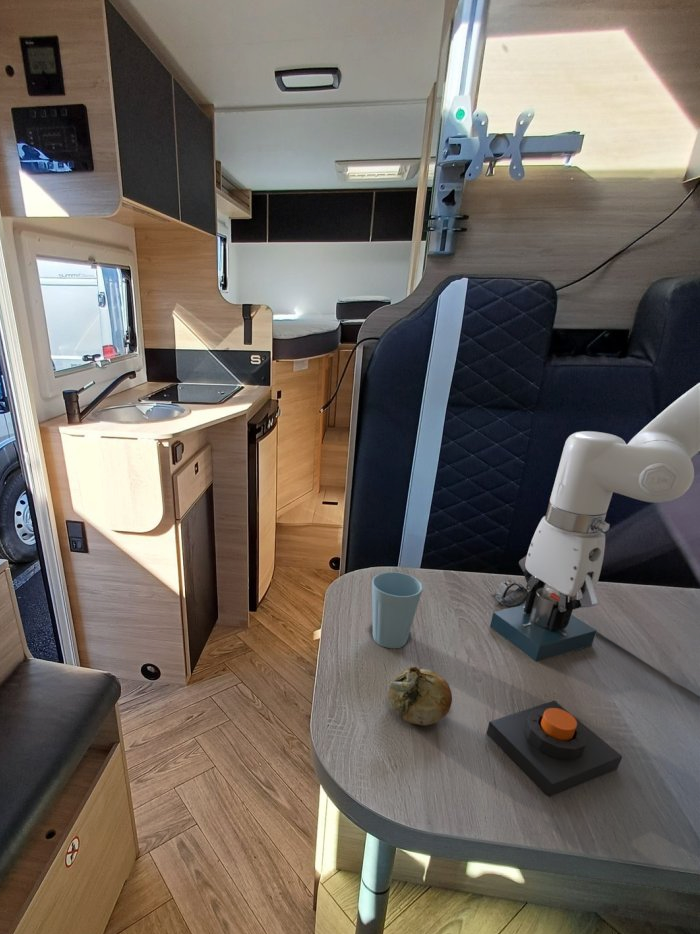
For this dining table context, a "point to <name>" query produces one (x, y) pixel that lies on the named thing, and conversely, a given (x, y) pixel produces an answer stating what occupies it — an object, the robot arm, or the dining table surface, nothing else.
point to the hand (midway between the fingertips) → (544, 618)
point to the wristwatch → (516, 596)
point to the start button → (558, 724)
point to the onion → (420, 696)
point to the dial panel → (540, 634)
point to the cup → (394, 607)
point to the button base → (552, 750)
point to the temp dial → (544, 606)
